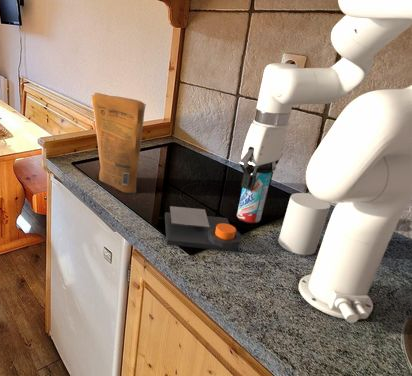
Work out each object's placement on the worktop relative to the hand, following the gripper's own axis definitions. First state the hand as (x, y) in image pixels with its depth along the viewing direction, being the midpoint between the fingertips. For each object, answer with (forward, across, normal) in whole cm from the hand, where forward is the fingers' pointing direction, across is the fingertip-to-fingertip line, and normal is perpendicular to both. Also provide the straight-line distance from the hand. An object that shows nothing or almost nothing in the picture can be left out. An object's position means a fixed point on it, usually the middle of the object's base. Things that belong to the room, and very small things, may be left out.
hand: (255, 185), depth 104 cm
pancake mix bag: (+10, +19, -35) cm, 41 cm away
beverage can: (+10, 0, 0) cm, 10 cm away
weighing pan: (+7, +18, -5) cm, 20 cm away
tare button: (+7, +16, +5) cm, 18 cm away
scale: (+10, +17, -1) cm, 20 cm away
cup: (+10, 0, +14) cm, 17 cm away
